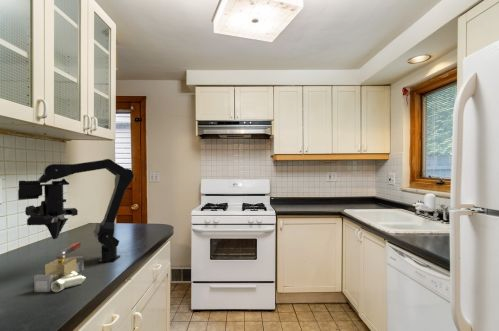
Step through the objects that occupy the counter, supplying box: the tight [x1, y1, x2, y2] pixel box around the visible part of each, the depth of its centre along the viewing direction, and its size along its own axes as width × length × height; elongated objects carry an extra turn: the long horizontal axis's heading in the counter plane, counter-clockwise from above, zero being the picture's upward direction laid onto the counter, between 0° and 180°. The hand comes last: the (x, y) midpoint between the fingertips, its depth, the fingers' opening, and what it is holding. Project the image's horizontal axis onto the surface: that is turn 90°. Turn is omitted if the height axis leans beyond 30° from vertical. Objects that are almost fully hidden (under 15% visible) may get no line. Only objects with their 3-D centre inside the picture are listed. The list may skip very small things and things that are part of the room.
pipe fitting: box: [51, 271, 87, 293], centre depth 88 cm, size 8×4×7 cm
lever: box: [54, 241, 82, 260], centre depth 98 cm, size 13×3×2 cm, turn 6°
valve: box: [33, 256, 85, 293], centre depth 93 cm, size 18×6×8 cm, turn 1°
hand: (54, 238), depth 100 cm, fingers closed
